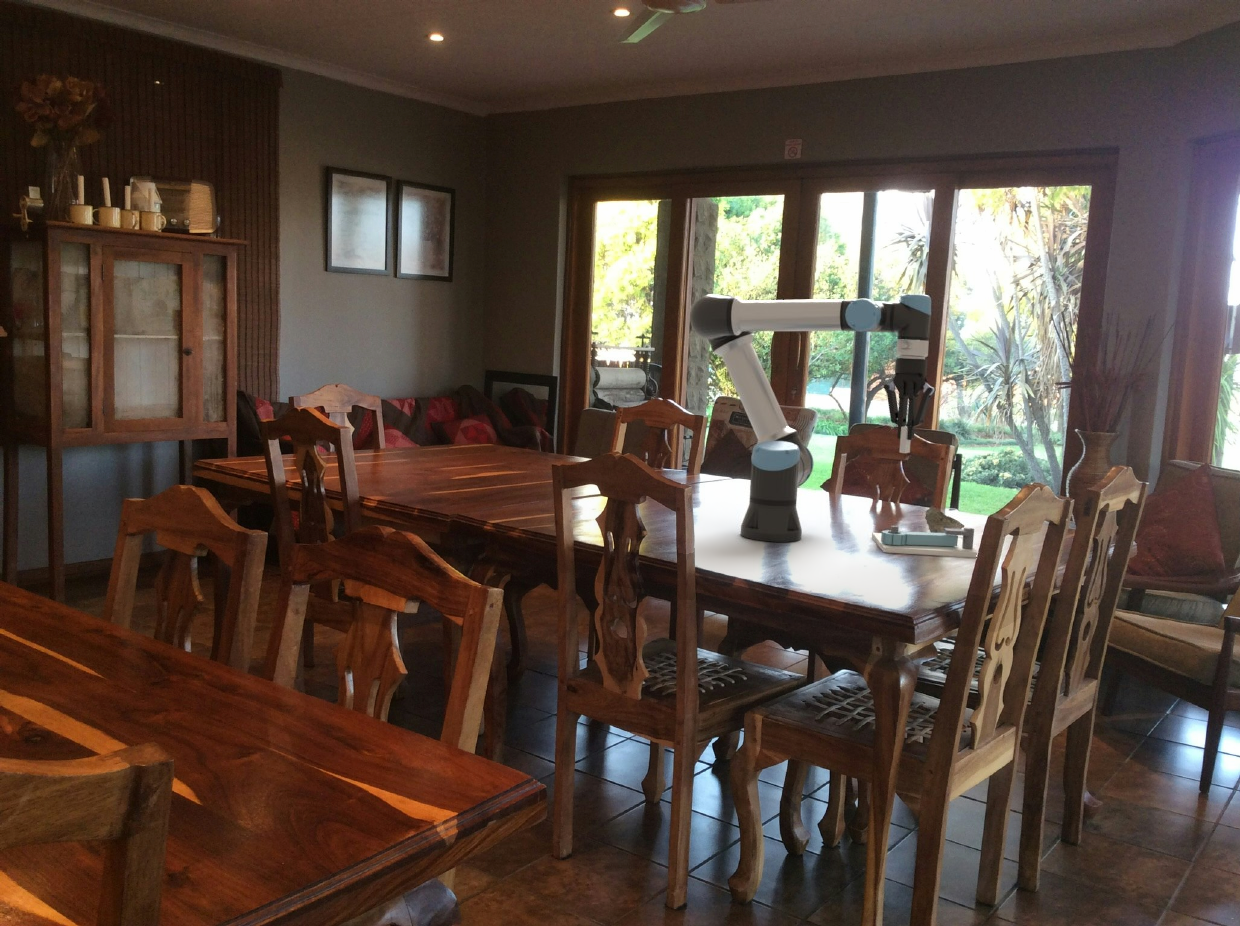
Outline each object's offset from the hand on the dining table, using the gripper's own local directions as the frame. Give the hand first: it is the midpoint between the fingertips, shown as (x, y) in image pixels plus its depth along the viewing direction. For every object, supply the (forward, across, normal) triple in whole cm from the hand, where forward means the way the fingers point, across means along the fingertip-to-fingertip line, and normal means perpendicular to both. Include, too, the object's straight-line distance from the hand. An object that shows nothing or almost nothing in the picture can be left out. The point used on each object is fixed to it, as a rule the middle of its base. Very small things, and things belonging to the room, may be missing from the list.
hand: (904, 452), depth 267 cm
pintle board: (+22, +8, -2) cm, 24 cm away
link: (+21, +8, -7) cm, 23 cm away
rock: (+23, +6, +15) cm, 28 cm away
